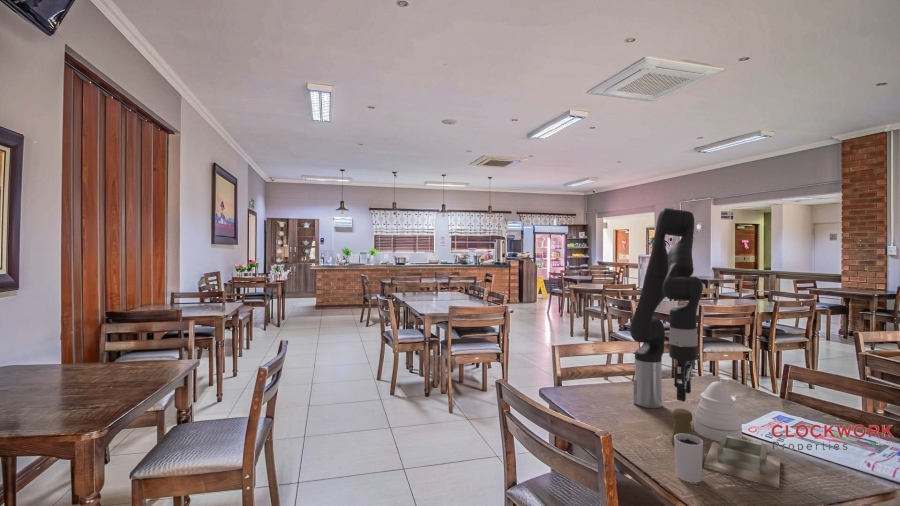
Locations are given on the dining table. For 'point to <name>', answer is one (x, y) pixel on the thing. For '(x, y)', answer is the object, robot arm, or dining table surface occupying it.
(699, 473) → the white cup
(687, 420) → the brown rounded tapered piece
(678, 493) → the dining table surface
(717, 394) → the honey pot
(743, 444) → the stand
